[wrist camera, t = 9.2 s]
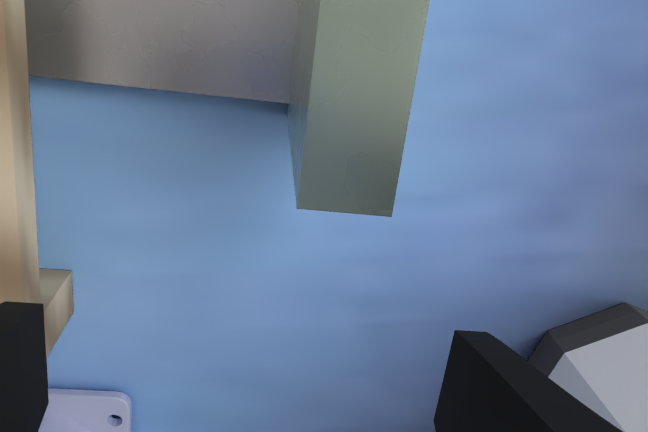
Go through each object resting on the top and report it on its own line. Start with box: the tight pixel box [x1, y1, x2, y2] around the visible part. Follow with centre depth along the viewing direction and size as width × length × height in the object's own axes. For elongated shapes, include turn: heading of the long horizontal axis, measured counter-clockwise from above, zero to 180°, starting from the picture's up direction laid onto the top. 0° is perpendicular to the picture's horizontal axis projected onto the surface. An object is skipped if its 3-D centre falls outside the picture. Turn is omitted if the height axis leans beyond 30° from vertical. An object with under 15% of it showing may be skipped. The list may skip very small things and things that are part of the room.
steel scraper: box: [24, 0, 430, 217], centre depth 13 cm, size 6×15×8 cm, turn 83°
